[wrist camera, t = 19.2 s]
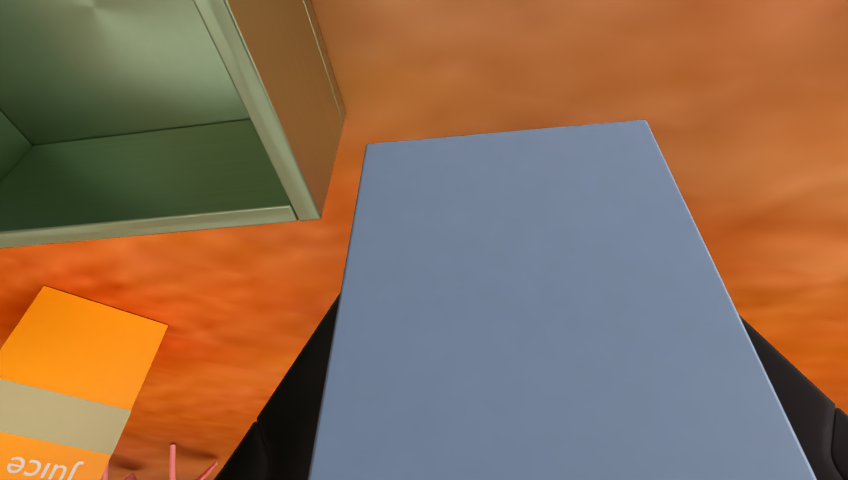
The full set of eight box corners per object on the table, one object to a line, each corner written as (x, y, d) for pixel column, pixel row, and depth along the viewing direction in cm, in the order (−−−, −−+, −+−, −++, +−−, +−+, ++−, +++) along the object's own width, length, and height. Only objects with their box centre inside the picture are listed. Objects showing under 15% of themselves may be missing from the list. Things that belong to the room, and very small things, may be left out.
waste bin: (346, 113, 21) (321, 220, 17) (39, 150, 23) (-53, 254, 19) (223, -282, 12) (108, -271, 8) (-249, -171, 14) (-541, -114, 10)
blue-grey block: (646, 117, 8) (831, 501, 4) (605, 289, 11) (686, 586, 8) (365, 142, 8) (300, 503, 5) (406, 299, 12) (388, 582, 8)
